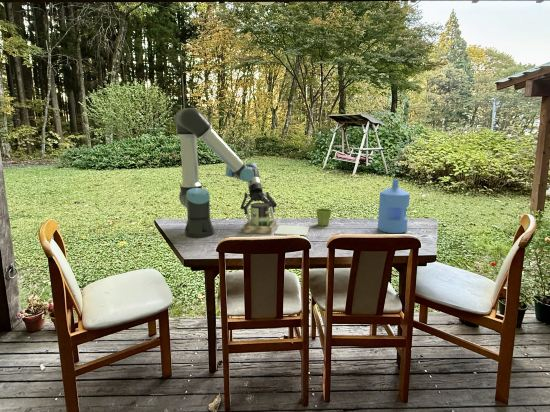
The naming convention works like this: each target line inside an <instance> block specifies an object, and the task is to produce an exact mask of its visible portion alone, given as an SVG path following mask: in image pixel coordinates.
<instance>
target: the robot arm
mask: <svg viewBox="0 0 550 412" xmlns="http://www.w3.org/2000/svg"><path fill="white" fill-rule="evenodd" d="M173 120H174V121H173V122H174V125H175V127H176V136H178V137H179V140H180V155H181V156H180V157H181V159H180V160H181V172H182V173H181V175H182V182H181V184H180V185H179V188H180V192H179V194H178V195H179V197H178V198H179V201H180V204H181V205H182V206H183V207H184V208H185V209H186V212H187V213H186V214H187V220H186V225H185V228H184V235H185V236H186V237H190V238H205V237H210V236H212V235H214V234H215V229H214V226H213V223H212V221H211V211H210V210H211V206H210V205H211V203H210V200H211V197H210V196H211V195H210V192H209V191H208V189H205V188H203V185H202V183H201V182H200V181H199V180H200V178H199V159H198V158H199V157H198V140H197V139H201V140H202V141H203V142H204V143H205V145H206V146H208V147H209V149H210V150H211V151H212V152H214V153H215V155H216V156H217V157H218V158H219V159H220V160H221V161H222V162H223V163H224V164H225V165H226V167H225V175H226V177H227V178H229V177H230V178H235V179H238V180H240V181H242V182H246V183H247V187H248V193H247V192H244V197H243V200H242V203H241V205H240V210H243V211H244V215H245V216H246V219H247V221H249V219H251V215H250V211H249V206H251V204H253V201H254V202H261V203H268V204H269V205H270V206H269V213H270V216H271V220H273V219H274V218H275V211H276V210H275V208H277V206H278V205H277V202H276V201H275V200H274V199H273V198H272V196H271V195H270V193H269V191H266V192H263V187H262V182H261V179H260V177H261V176H260V173H259V168H258V167H259V166H258V165H257V164H256V163H255V162H252V161H251V162H247V163H246V164H245V163H244V161H243V160H241V158H240V157H239V156H238V154H236V153H235V151H233V149H231V147H230V146H229V145H228V144H227V143H226V142H225V141H224V140H223V138H222V137H220V135H218V134H217V133H216V131H215V129H213V128H212V127H213V126H212V124H211V123H210V122H209V120H207V118H206V117H205V116H204V115H203V113H202V112H200V111H199V110H198V109H197V108H192V107H188V108H186V107H184V108H182V109H180V110H178V111H177V112H176V114H175V115H174V119H173ZM248 198H250V199H249V200H248V202H246V201H247V199H248Z"/></svg>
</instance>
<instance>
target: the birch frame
mask: <svg viewBox="0 0 550 412" xmlns="http://www.w3.org/2000/svg"><path fill="white" fill-rule="evenodd" d="M276 227H277V220H276V219H275V220H273V219H269V227H263V226H251V218H250V219H249V221H248V220H247V221H246V222H245V224H244V225H243V226H242V232H243V233H246V234H249V233H250V234H265V235H271V234H273V232H274V230H275V229H276Z"/></svg>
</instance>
